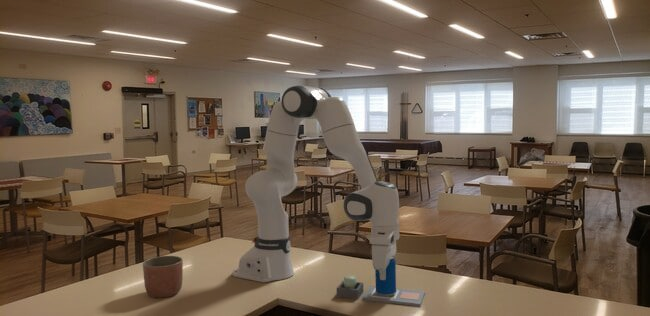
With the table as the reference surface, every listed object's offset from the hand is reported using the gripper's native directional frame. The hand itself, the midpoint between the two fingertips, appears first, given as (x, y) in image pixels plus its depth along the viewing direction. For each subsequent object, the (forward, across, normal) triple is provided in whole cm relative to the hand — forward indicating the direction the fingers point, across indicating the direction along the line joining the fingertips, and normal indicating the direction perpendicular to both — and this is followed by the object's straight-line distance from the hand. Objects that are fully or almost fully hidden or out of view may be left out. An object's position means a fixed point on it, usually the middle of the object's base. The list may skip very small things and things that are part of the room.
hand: (385, 275), depth 152 cm
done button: (+5, +2, -11) cm, 12 cm away
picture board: (+7, 0, +3) cm, 7 cm away
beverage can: (+6, 0, 0) cm, 6 cm away
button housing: (+7, +2, -11) cm, 13 cm away
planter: (+6, +19, -70) cm, 73 cm away
